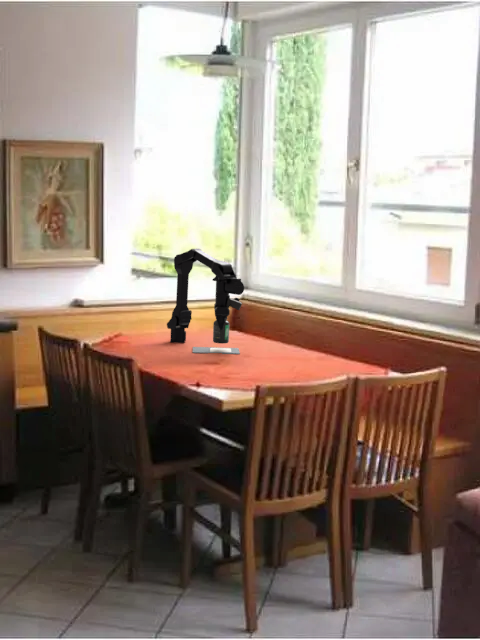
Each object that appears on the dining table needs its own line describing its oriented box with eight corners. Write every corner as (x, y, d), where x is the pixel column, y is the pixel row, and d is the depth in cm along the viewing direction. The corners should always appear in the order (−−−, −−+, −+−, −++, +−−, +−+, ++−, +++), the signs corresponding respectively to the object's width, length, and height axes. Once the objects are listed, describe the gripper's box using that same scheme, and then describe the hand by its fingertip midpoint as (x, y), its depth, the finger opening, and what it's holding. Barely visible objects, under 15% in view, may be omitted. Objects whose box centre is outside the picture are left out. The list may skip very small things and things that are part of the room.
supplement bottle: (230, 343, 405) (231, 315, 403) (215, 343, 403) (216, 315, 401) (226, 340, 411) (227, 313, 410) (210, 341, 409) (211, 313, 408)
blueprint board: (192, 353, 401) (192, 351, 401) (192, 347, 413) (192, 346, 413) (239, 354, 402) (239, 353, 401) (238, 348, 414) (238, 347, 414)
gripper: (242, 295, 395) (240, 332, 397) (240, 290, 414) (238, 325, 416) (215, 294, 395) (214, 331, 397) (214, 289, 413) (213, 324, 415)
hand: (221, 328), depth 406 cm, fingers closed on supplement bottle, 7 cm apart
